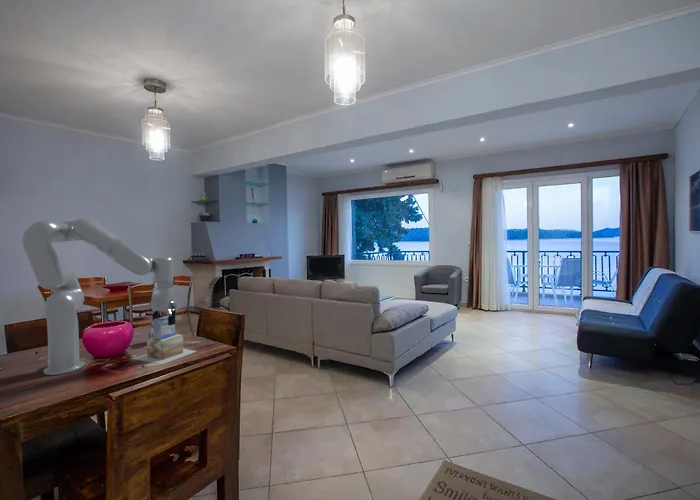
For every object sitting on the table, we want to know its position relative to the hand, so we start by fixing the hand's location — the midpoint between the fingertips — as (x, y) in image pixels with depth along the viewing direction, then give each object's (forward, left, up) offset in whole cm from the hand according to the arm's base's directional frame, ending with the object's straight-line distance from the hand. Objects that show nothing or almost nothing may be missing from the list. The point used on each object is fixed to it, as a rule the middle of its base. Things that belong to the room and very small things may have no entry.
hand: (163, 323), depth 152 cm
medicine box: (0, 0, -6) cm, 6 cm away
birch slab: (0, 0, -10) cm, 10 cm away
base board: (0, 0, -15) cm, 15 cm away
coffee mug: (-23, +15, -15) cm, 31 cm away
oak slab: (0, 0, -14) cm, 14 cm away
